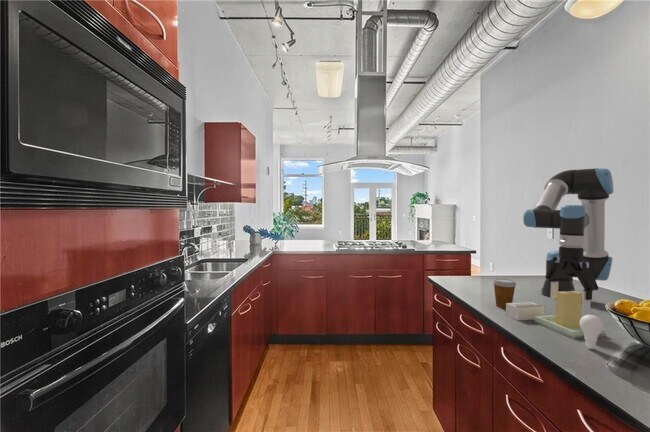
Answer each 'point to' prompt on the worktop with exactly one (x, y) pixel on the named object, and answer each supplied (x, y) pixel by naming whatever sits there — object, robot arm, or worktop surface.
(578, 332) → the tray
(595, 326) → the lightbulb
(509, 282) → the disposable coffee cup
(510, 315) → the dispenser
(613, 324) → the worktop surface
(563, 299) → the pale yellow tall box
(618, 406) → the worktop surface
